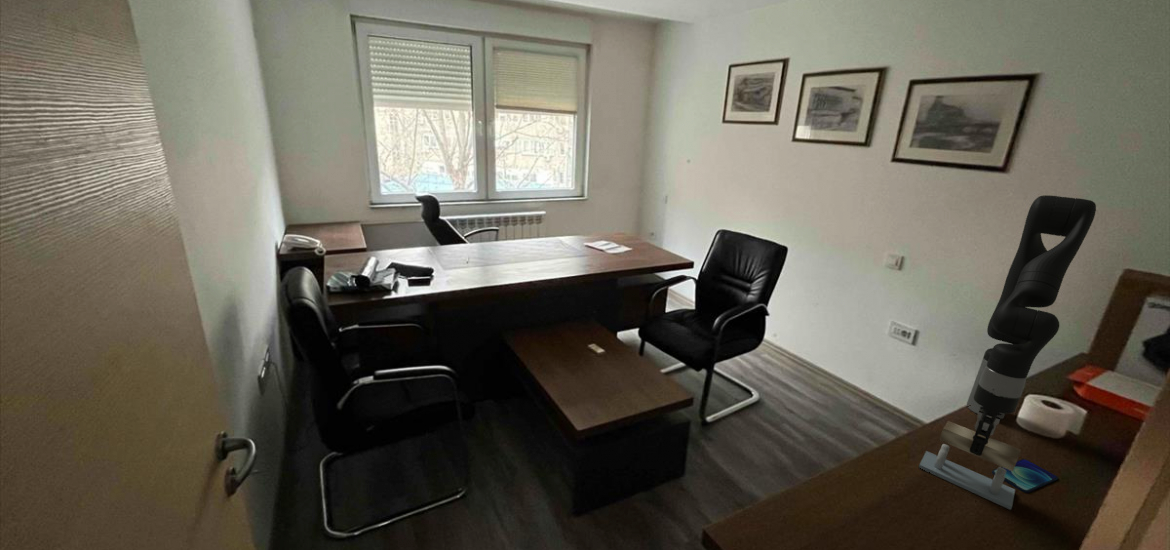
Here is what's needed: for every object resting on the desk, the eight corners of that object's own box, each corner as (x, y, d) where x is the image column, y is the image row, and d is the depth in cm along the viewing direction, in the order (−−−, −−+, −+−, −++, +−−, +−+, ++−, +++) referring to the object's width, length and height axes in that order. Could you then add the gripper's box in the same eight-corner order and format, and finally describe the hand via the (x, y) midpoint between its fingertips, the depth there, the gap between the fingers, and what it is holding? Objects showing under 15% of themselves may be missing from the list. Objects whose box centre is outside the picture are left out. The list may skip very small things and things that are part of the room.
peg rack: (918, 467, 117) (924, 448, 115) (925, 454, 122) (931, 435, 120) (1010, 510, 105) (1019, 489, 103) (1013, 492, 110) (1022, 472, 108)
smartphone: (1060, 477, 115) (1026, 491, 110) (1058, 480, 116) (1025, 494, 110) (1023, 458, 122) (990, 470, 116) (1022, 460, 122) (989, 473, 117)
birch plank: (1015, 462, 107) (1021, 449, 106) (1012, 471, 104) (1017, 459, 103) (944, 432, 117) (948, 420, 116) (939, 440, 114) (943, 428, 113)
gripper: (983, 371, 113) (962, 429, 118) (974, 391, 103) (952, 453, 108) (1023, 384, 108) (1000, 443, 113) (1018, 406, 98) (993, 470, 103)
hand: (976, 448), depth 111 cm, fingers closed on birch plank, 5 cm apart
